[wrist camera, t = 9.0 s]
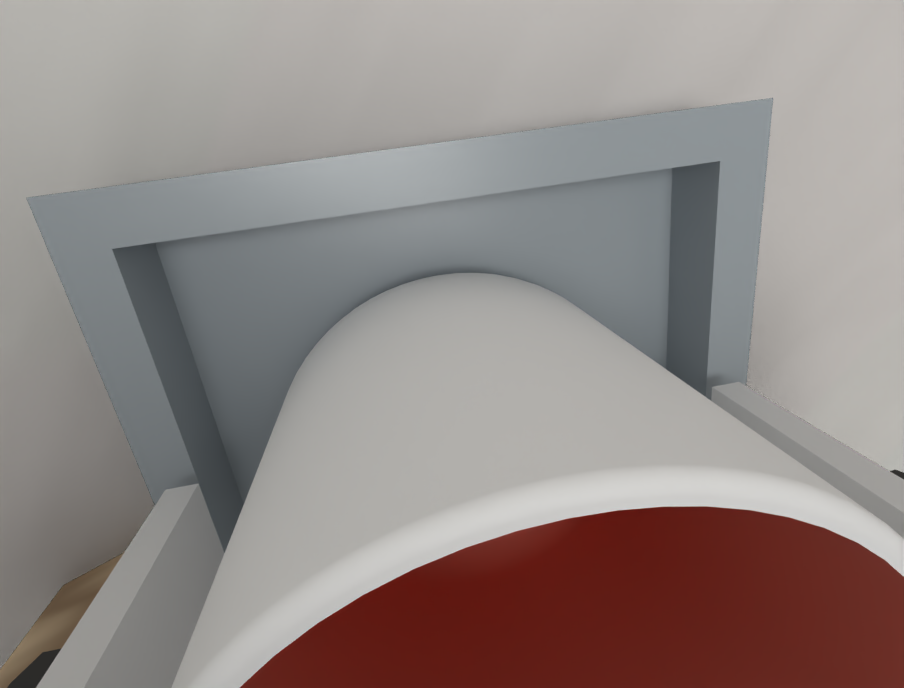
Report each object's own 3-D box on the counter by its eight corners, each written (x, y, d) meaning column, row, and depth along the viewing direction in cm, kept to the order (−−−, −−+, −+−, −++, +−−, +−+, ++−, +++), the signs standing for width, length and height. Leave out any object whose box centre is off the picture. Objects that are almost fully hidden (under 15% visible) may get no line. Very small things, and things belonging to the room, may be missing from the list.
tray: (266, 640, 18) (247, 726, 15) (104, 190, 13) (26, 197, 10) (675, 551, 20) (724, 614, 17) (693, 111, 14) (773, 97, 11)
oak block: (146, 654, 18) (85, 783, 14) (64, 583, 16) (-28, 706, 13) (242, 603, 18) (206, 720, 14) (167, 527, 16) (105, 636, 12)
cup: (585, 547, 18) (820, 976, 8) (294, 564, 16) (179, 1116, 7) (637, 269, 14) (1127, 462, 5) (277, 256, 13) (6, 500, 3)
